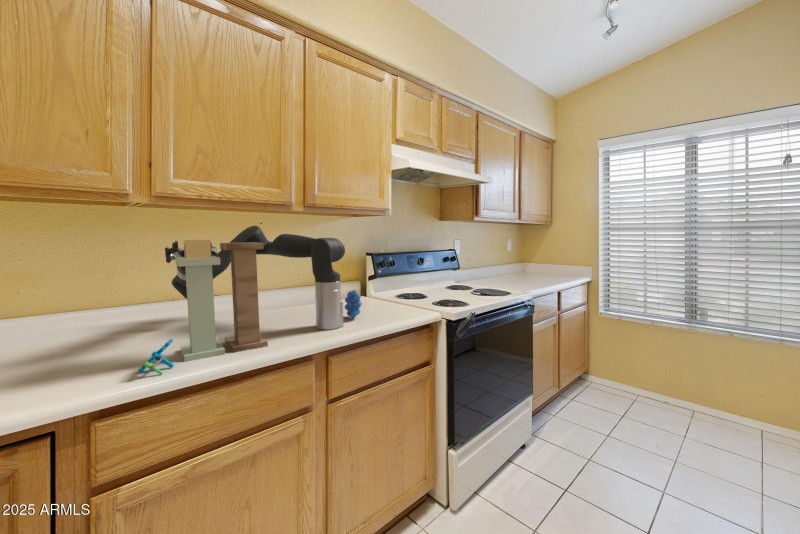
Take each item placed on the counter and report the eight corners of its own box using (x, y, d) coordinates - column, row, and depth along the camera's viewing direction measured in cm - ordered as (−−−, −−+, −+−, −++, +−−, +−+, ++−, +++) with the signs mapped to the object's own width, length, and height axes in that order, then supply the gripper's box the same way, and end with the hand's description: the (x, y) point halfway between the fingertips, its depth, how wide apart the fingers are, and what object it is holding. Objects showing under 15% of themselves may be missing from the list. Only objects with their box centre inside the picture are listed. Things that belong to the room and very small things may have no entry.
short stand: (181, 350, 104) (175, 257, 102) (218, 343, 110) (213, 255, 108) (184, 361, 95) (178, 259, 92) (225, 354, 101) (220, 257, 98)
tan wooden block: (180, 255, 111) (179, 240, 111) (202, 255, 115) (201, 239, 115) (186, 258, 94) (185, 240, 94) (211, 257, 98) (210, 239, 98)
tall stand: (225, 342, 112) (219, 242, 109) (257, 337, 117) (253, 242, 115) (232, 352, 102) (227, 243, 99) (267, 346, 108) (263, 242, 105)
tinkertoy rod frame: (149, 357, 94) (174, 331, 93) (168, 370, 95) (193, 344, 95) (125, 378, 83) (154, 349, 83) (147, 393, 85) (176, 364, 84)
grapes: (369, 319, 142) (369, 290, 141) (355, 321, 138) (354, 291, 137) (355, 314, 152) (354, 286, 150) (341, 316, 147) (340, 288, 146)
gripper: (214, 274, 123) (219, 253, 111) (165, 277, 114) (166, 254, 102) (211, 256, 125) (216, 232, 113) (163, 257, 117) (164, 232, 105)
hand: (192, 243), depth 108 cm, fingers open, 8 cm apart
